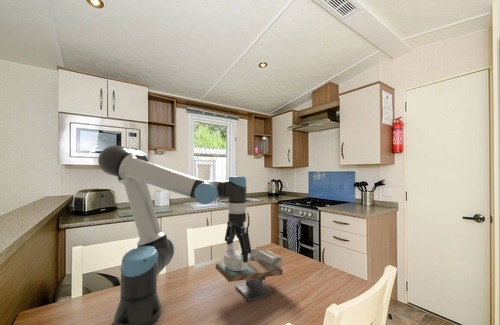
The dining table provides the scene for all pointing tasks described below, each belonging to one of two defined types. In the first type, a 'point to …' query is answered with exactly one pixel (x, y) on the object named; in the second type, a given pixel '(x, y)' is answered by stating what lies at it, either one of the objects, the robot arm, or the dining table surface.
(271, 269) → the beam
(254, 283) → the fulcrum
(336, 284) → the dining table surface
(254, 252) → the grey lumpy piece
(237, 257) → the ramekin
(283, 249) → the dining table surface
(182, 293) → the dining table surface
